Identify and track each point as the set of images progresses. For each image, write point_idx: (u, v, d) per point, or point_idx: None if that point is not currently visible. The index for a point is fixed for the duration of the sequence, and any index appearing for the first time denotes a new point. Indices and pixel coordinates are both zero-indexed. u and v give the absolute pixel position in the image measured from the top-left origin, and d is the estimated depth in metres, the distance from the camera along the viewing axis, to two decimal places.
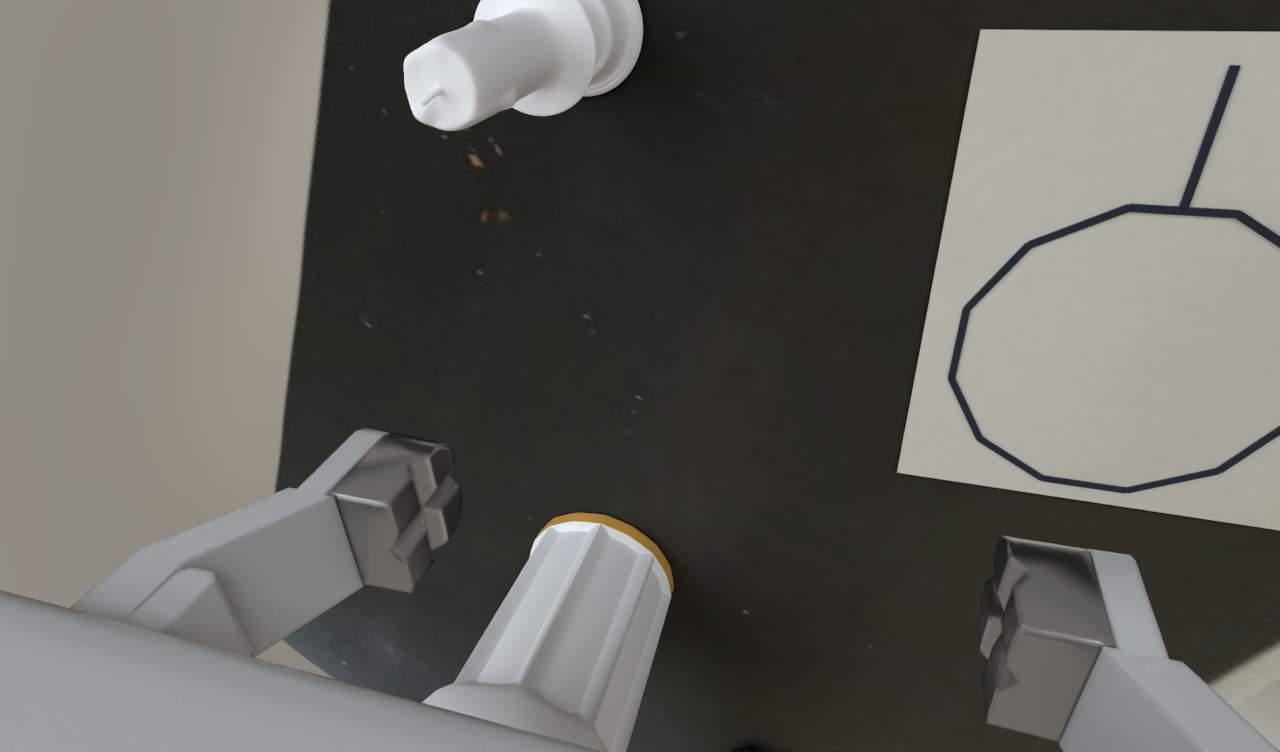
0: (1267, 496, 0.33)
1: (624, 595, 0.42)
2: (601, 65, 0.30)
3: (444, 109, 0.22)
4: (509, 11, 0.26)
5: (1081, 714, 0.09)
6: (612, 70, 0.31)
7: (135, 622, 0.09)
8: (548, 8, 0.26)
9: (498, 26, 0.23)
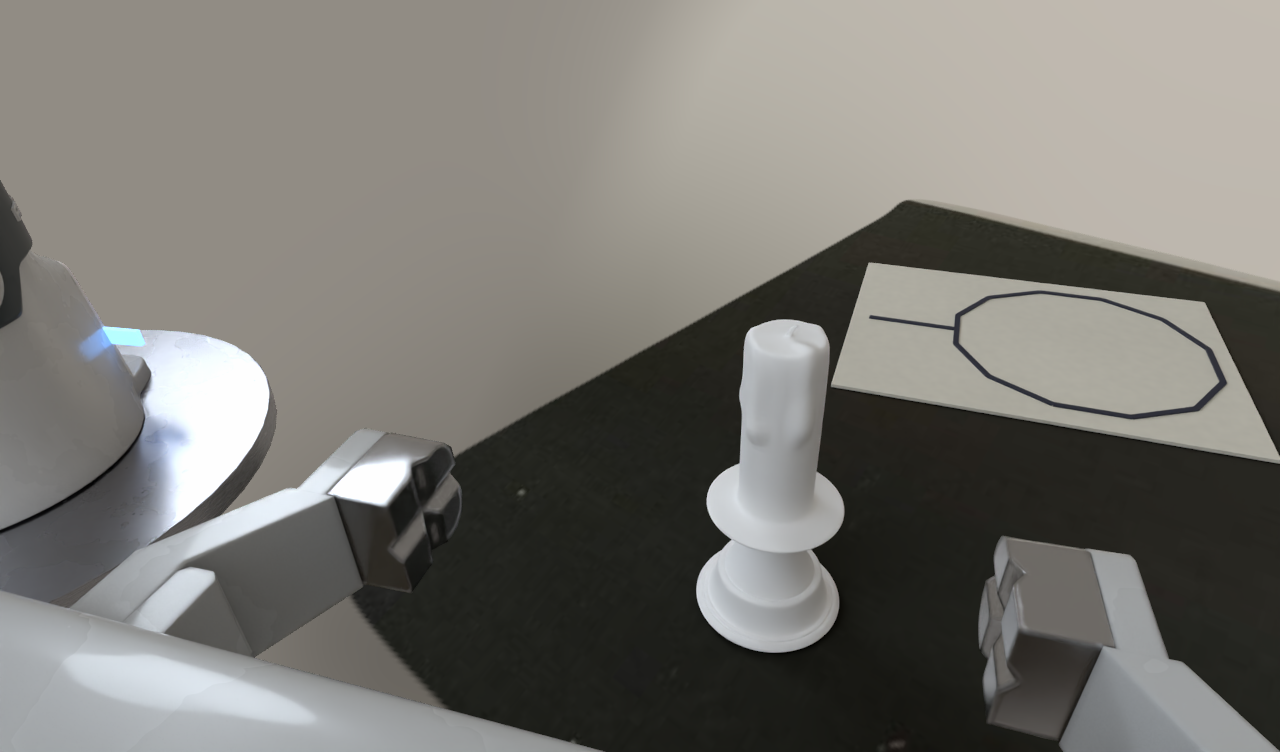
0: (1175, 306, 0.46)
1: None
2: None
3: (806, 338, 0.23)
4: (736, 502, 0.26)
5: (1081, 714, 0.09)
6: None
7: (135, 622, 0.09)
8: None
9: None
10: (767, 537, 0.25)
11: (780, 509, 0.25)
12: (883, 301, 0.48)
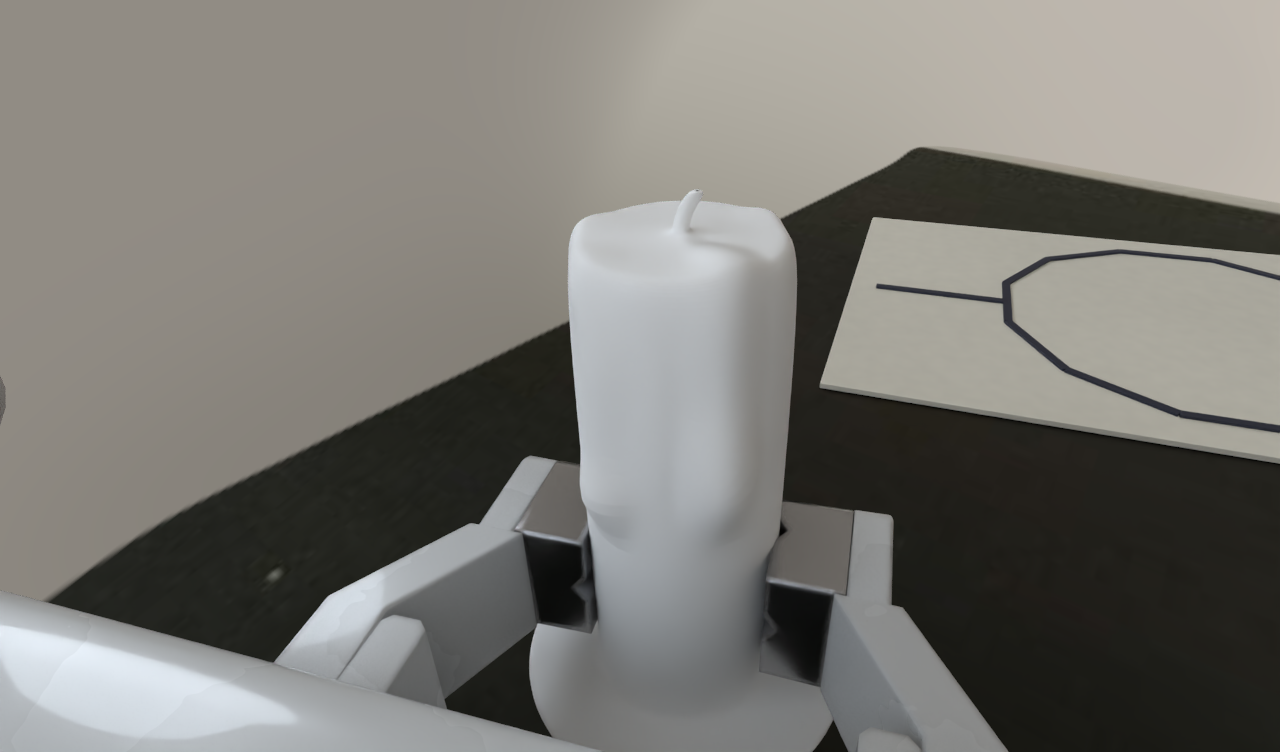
0: None
1: None
2: None
3: (730, 236, 0.08)
4: (594, 650, 0.11)
5: (828, 659, 0.09)
6: None
7: (353, 680, 0.08)
8: None
9: None
10: None
11: (684, 685, 0.10)
12: (895, 265, 0.33)
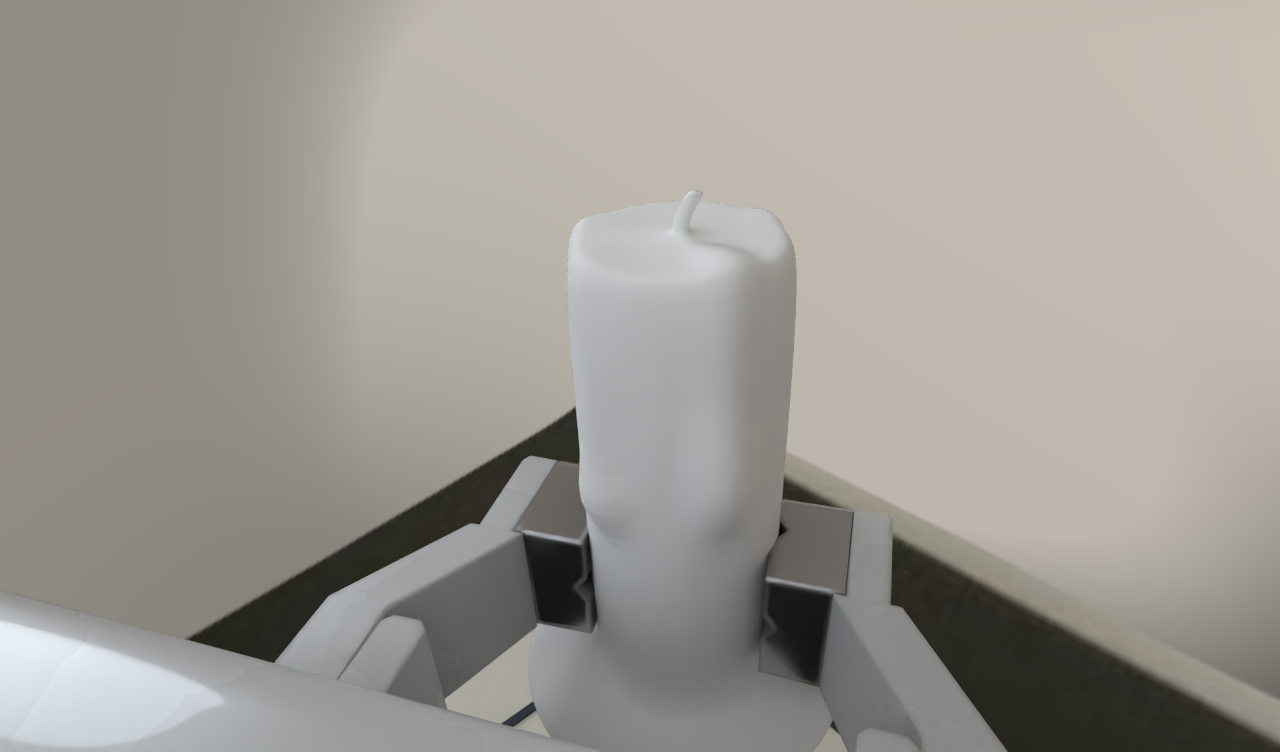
0: None
1: None
2: None
3: (729, 238, 0.08)
4: (594, 651, 0.11)
5: (827, 659, 0.09)
6: None
7: (353, 680, 0.08)
8: None
9: None
10: None
11: (684, 685, 0.10)
12: None
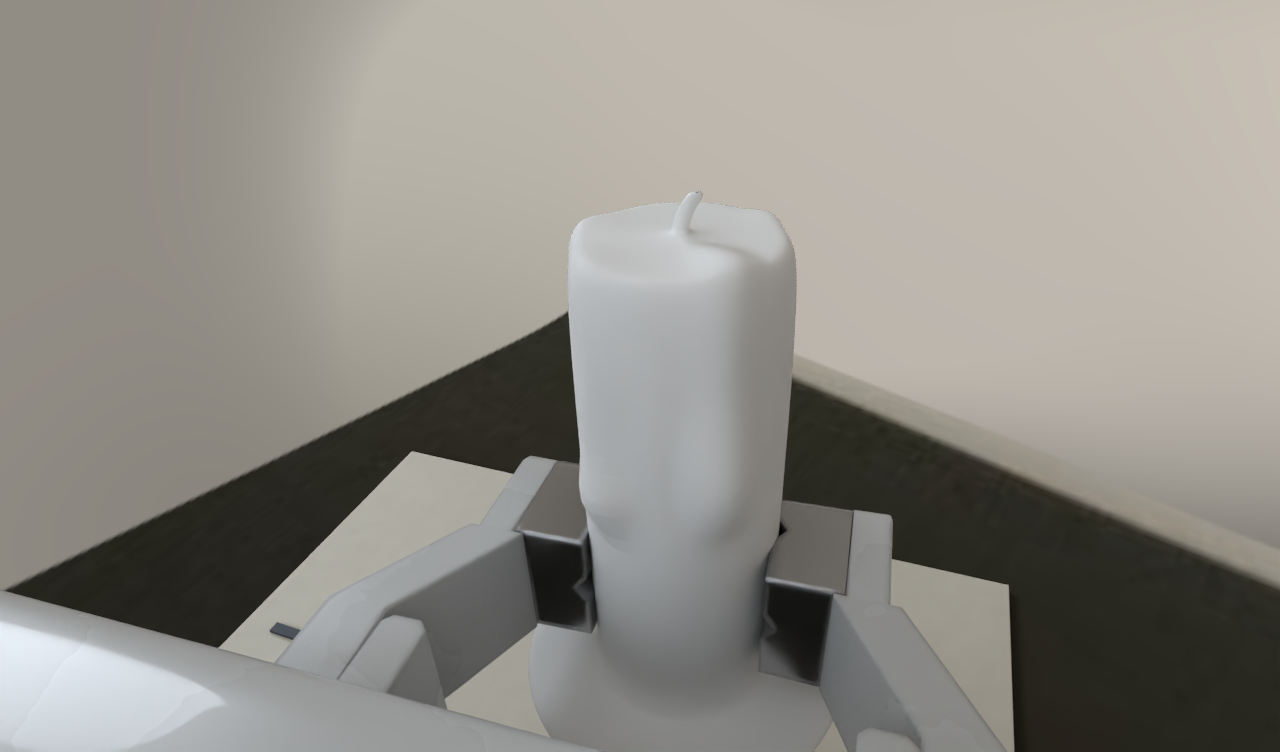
0: (942, 598, 0.21)
1: None
2: None
3: (730, 238, 0.08)
4: (594, 651, 0.11)
5: (827, 659, 0.09)
6: None
7: (352, 679, 0.08)
8: None
9: None
10: None
11: (683, 686, 0.10)
12: (346, 572, 0.23)
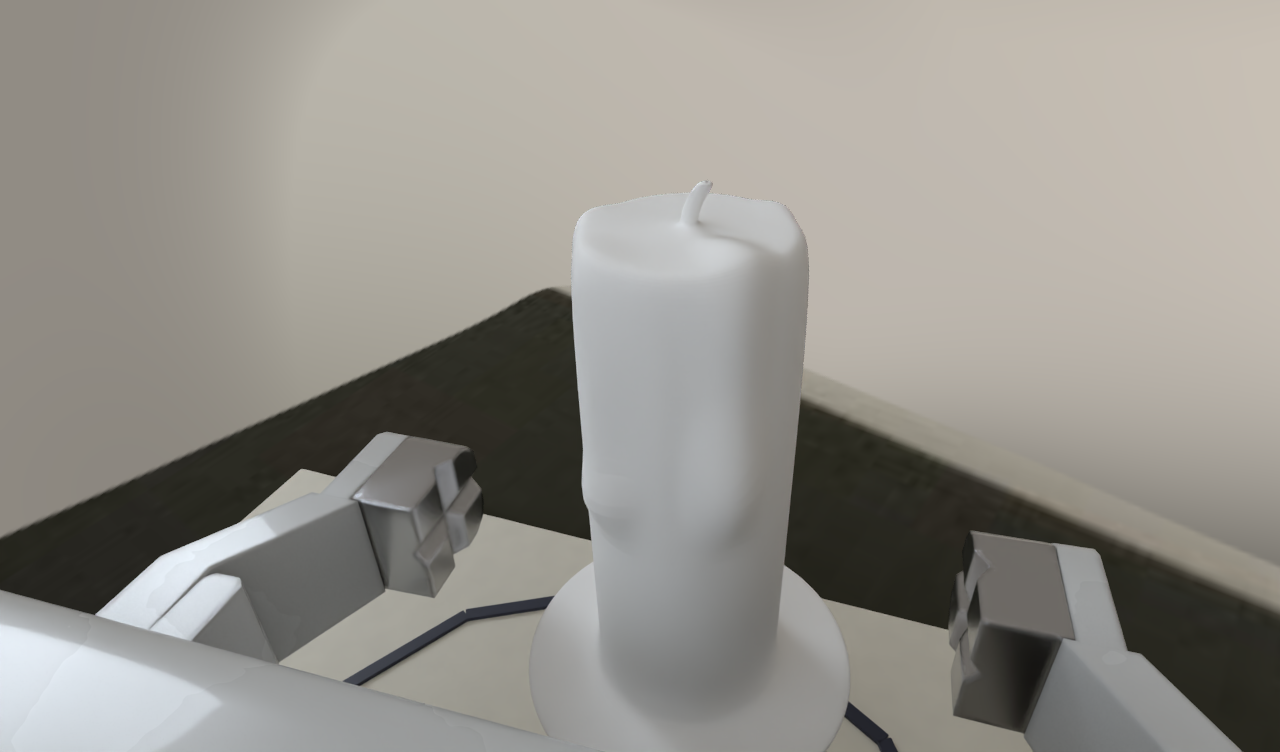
0: (942, 667, 0.16)
1: None
2: None
3: (740, 231, 0.08)
4: (595, 653, 0.11)
5: (1043, 706, 0.09)
6: None
7: (163, 629, 0.09)
8: None
9: None
10: None
11: (688, 690, 0.10)
12: None
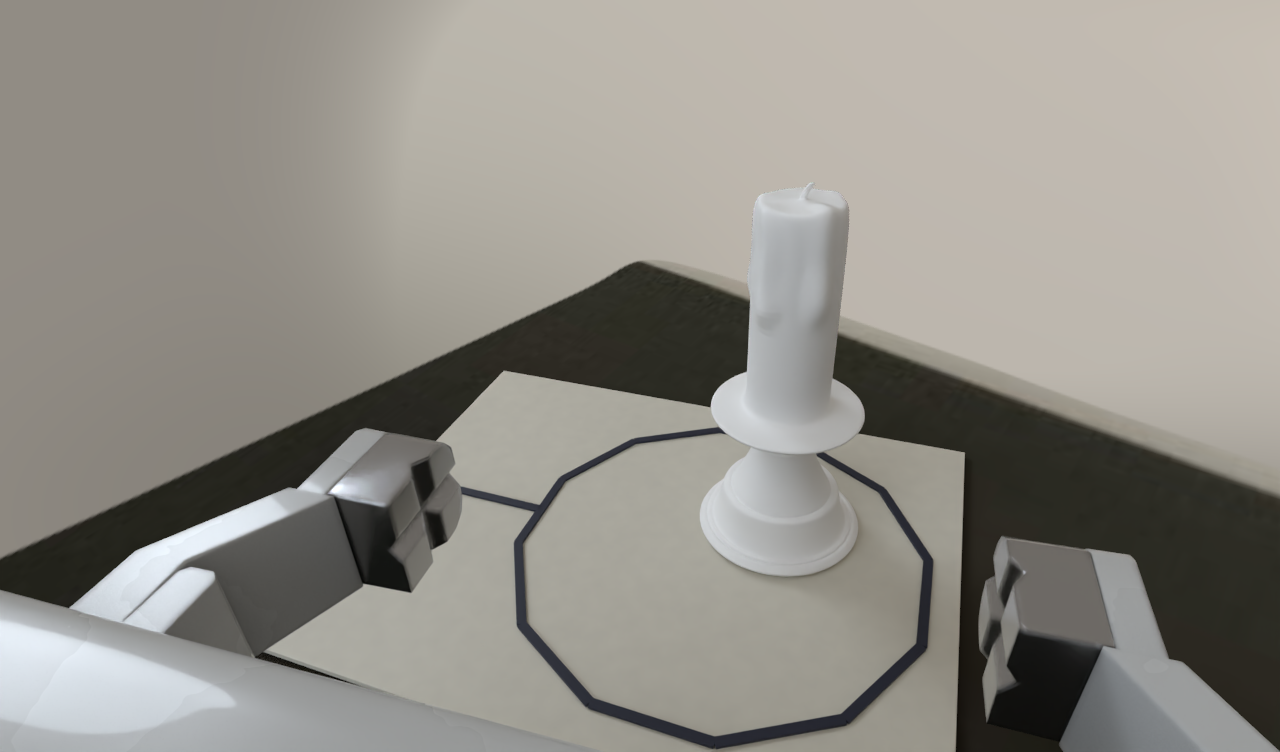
0: (915, 460, 0.29)
1: None
2: (822, 467, 0.26)
3: (823, 201, 0.20)
4: (744, 406, 0.24)
5: (1081, 714, 0.09)
6: None
7: (136, 622, 0.09)
8: None
9: None
10: (778, 438, 0.22)
11: (793, 407, 0.22)
12: (469, 448, 0.31)
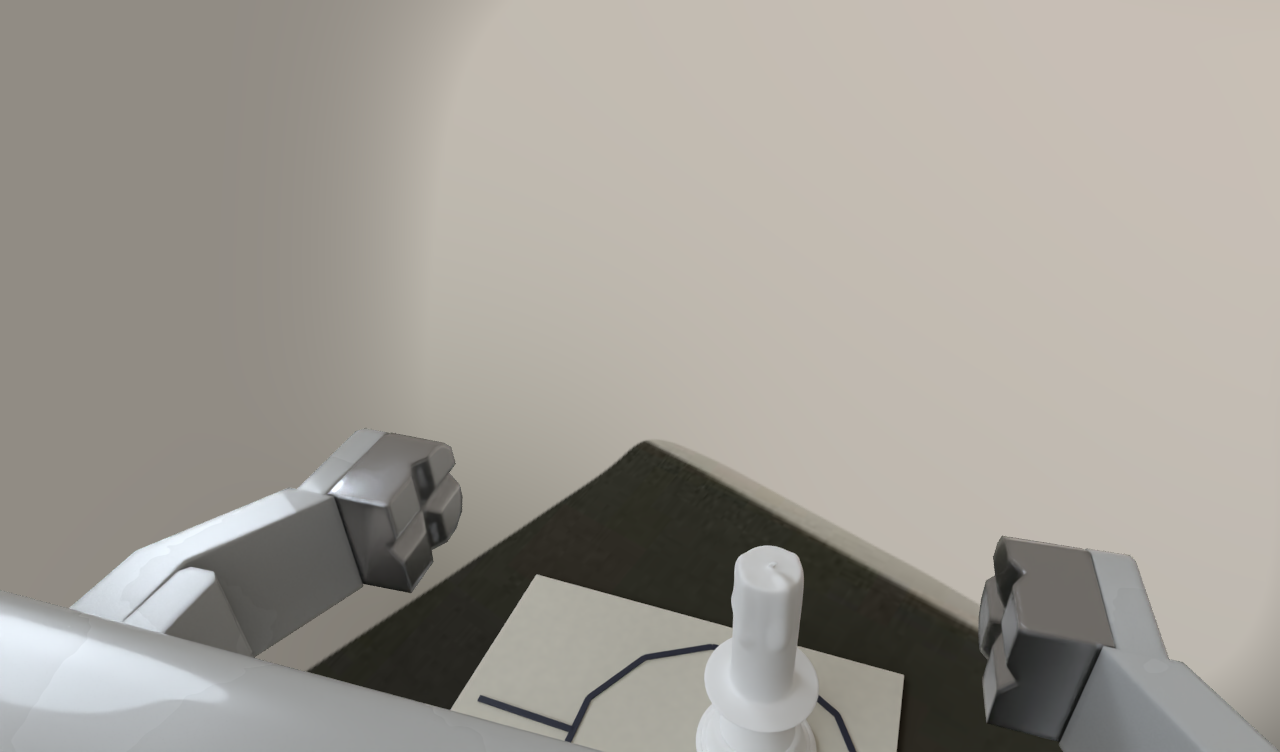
0: (865, 683, 0.37)
1: None
2: None
3: (785, 569, 0.28)
4: (729, 680, 0.31)
5: (1081, 714, 0.09)
6: None
7: (136, 622, 0.09)
8: None
9: None
10: (753, 717, 0.30)
11: (764, 694, 0.30)
12: (513, 662, 0.38)
